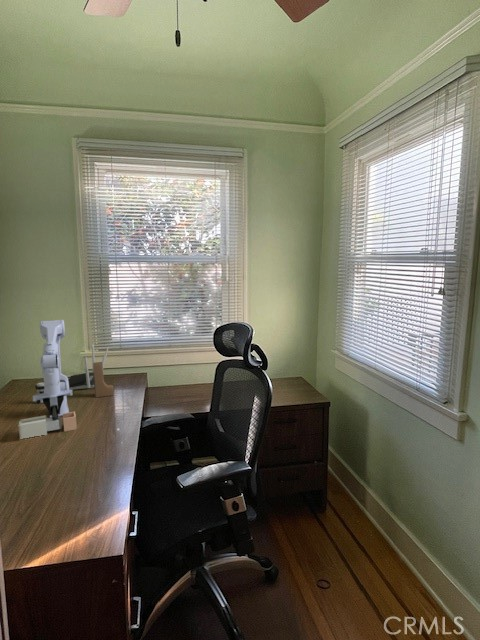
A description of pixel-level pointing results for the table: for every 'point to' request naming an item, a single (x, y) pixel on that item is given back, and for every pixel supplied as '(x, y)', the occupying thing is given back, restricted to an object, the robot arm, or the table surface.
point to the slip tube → (53, 420)
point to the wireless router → (85, 375)
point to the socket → (69, 421)
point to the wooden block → (101, 381)
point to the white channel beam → (32, 427)
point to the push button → (42, 390)
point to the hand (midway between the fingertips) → (54, 414)
